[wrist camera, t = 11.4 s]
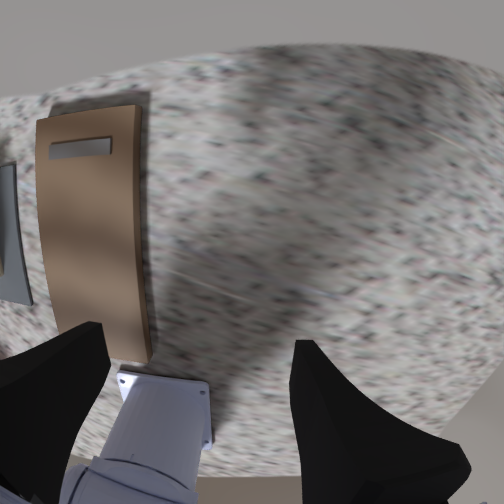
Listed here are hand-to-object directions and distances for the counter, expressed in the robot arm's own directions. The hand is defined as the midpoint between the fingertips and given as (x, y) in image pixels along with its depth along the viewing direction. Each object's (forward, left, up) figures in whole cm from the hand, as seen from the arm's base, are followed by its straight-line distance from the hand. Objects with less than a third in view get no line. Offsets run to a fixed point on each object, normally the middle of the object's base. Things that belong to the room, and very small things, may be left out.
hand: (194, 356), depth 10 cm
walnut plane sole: (+1, +10, -10) cm, 14 cm away
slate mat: (+1, +22, -10) cm, 24 cm away
